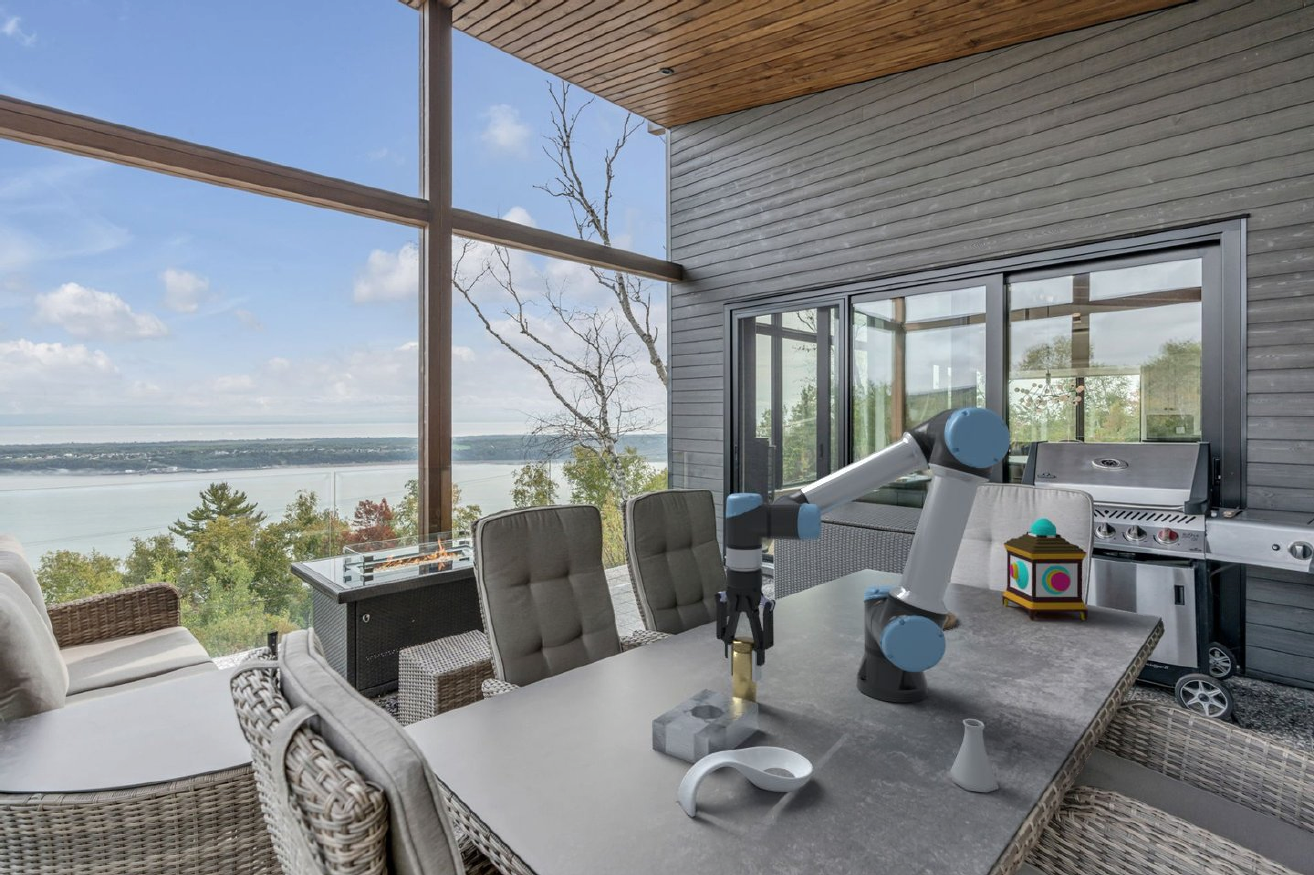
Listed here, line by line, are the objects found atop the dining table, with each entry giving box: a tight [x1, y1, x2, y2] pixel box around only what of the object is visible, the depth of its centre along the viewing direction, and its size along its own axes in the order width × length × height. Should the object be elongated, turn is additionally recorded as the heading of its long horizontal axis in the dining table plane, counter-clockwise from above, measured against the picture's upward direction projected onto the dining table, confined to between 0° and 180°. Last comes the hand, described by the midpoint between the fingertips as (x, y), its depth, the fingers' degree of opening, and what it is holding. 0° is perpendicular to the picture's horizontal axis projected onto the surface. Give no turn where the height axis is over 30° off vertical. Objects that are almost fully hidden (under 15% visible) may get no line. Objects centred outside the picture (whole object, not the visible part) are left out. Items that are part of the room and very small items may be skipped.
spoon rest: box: [677, 746, 814, 818], centre depth 107 cm, size 24×12×7 cm, turn 117°
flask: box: [949, 718, 1000, 793], centre depth 110 cm, size 7×7×10 cm
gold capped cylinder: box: [732, 636, 758, 703], centre depth 139 cm, size 5×5×13 cm
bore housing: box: [651, 688, 759, 765], centre depth 123 cm, size 12×18×6 cm, turn 143°
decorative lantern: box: [1001, 517, 1089, 621], centre depth 208 cm, size 20×20×30 cm
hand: (744, 676), depth 139 cm, fingers closed on gold capped cylinder, 5 cm apart
